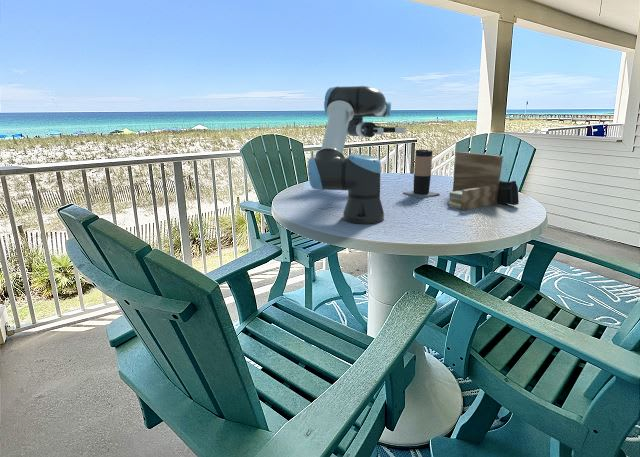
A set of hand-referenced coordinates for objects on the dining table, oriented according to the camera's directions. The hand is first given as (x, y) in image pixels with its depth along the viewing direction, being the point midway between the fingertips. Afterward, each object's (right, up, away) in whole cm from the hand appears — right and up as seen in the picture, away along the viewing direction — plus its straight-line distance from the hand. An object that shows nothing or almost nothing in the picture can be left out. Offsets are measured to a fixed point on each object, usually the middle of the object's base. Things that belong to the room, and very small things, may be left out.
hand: (394, 130), depth 174 cm
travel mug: (+13, -29, +2) cm, 32 cm away
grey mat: (+13, -30, +2) cm, 33 cm away
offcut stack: (+27, -36, -17) cm, 49 cm away
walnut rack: (+25, -35, -13) cm, 45 cm away
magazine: (+41, -33, -9) cm, 54 cm away
